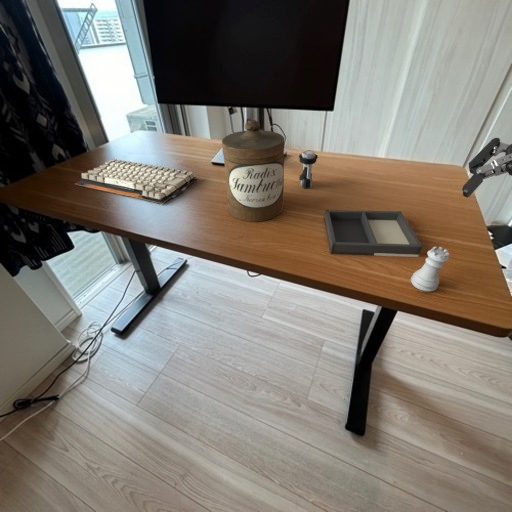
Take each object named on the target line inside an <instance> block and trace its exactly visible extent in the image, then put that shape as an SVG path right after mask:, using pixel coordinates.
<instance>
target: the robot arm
mask: <svg viewBox="0 0 512 512" xmlns="http://www.w3.org/2000/svg"><path fill="white" fill-rule="evenodd" d="M501 153H505V154H504V155H503V156H501V157H499V158H496V159H494V160H492V161H491V162H490V163H488V162H489V161H490V160H491V159H492V158H493V157H497V156H498V155H500V154H501ZM468 171H469V173H470V174H471V177H470V178H469V179H468V180H467V181H466V183H464V184H463V186H462V196H463V197H464V198H467V199H468V198H470V197H471V195H472V194H473V193H474V192H475V191H476V190H477V189H478V188H479V187H480V185H482V184H483V182H484V180H485V179H488V178H492V177H494V176H495V177H498V176H501V175H504V174H506V173H507V174H508V176H510V177H511V176H512V143H511V144H508V143H504V142H501V139H500V138H499V137H494V138H492V139H491V140H490V141H489V142H488V143H487V144H486V145H485V146H484V147H483V148H482V149H481V150H480V151H479V152H478V153H477V154H476V155H475V156H474V157H473V158H472V159H471V160H470V161H469V162H468Z"/></svg>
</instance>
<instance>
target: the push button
mask: <svg viewBox="0 0 512 512" xmlns="http://www.w3.org/2000/svg"><path fill="white" fill-rule="evenodd" d="M318 158H319V157H318V155H317V154H316V152H315V151H313V150H304V151H302V153H300V154H299V155H298V159H299V163H301V164H302V165H303V166H302V173H301V174H299V178H298V180H299V182H300V183H299V184H300V186H301V187H302V186H303V189H306V190H307V189H310V188H312V185H313V178H312V176H313V174H312V166H313V165H314V164H316V163H317V160H318Z"/></svg>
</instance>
